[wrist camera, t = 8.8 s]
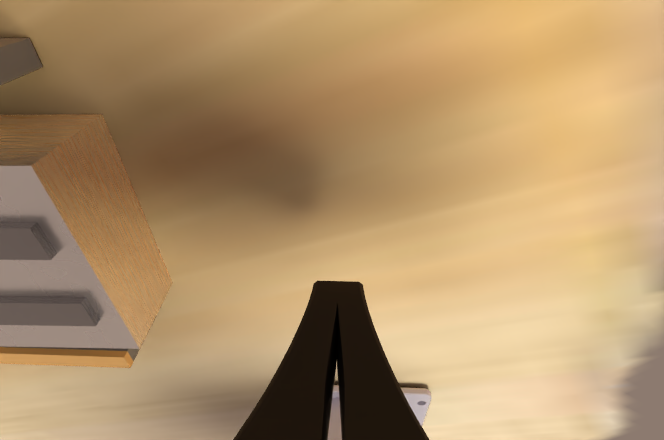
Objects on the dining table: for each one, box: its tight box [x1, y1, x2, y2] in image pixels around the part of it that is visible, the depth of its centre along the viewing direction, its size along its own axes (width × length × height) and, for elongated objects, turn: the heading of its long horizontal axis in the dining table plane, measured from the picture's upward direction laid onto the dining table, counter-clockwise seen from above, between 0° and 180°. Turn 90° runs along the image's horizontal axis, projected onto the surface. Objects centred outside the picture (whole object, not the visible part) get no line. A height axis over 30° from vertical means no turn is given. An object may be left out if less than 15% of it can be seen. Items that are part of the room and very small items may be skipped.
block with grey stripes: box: [0, 114, 172, 349], centre depth 13 cm, size 8×8×4 cm
